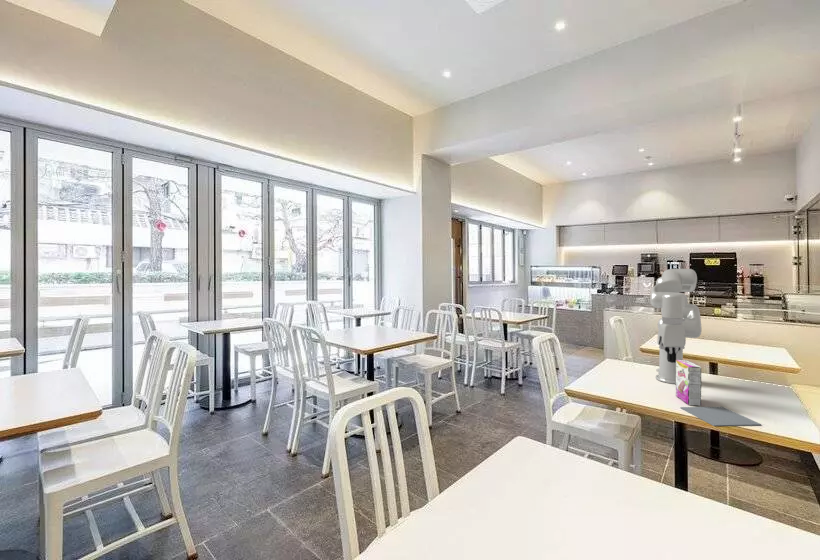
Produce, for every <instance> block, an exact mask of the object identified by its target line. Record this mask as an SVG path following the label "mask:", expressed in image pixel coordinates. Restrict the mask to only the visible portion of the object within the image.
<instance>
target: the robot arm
mask: <svg viewBox="0 0 820 560" xmlns="http://www.w3.org/2000/svg"><path fill="white" fill-rule="evenodd" d="M697 282H698V276H697V273H696V271H695V270H694V269H692V268H669V269H666V270H664V271H663V272H662V273H661V276H660V277H658V278H657V279H656V282H655V285H654V286H653V287H652V288H651V290H650V297H649V302H650V305H651V307H652V308H656V309H661V312H660V313H661V318H659V319H658V321H657V330H658V332H657V345H659V347H658V348H659V358H658V361H659V365H658V366H659V367H658V368H657V369H656V372H658V374H656V375H655V379H656V381H659V382H663V383H665V384H675V385H676V360H684V358H683V354H684V350H685V347H686V340H687V339H688V338H689V339H697V338H699V337H700V336H701V335H702V320H701V312H700V309H699V306H698V305H696V304H693V303H688V296H686V294H685V293H692V292H694V291H695V289H696V286H697ZM686 338H687V339H686Z"/></svg>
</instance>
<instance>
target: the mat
mask: <svg viewBox="0 0 820 560" xmlns="http://www.w3.org/2000/svg"><path fill="white" fill-rule="evenodd" d="M680 409H681V410H683V411H685V412H687V413H688V414H691V416H694V417H696V418H697V419H700V420H701V421H704V422H705V423H707V424H709V425H711V426H713V427H742V426H743V427H745V426H751V427H753V426H754V427H755V426H762V423H760V422H757V421H755V420H753V419H751V418H750V417H746V416H744V415H742V414H740V413H737V412H735V411H733V410H732V409H729V408H727V407H724V406H683V407H682V406H681V407H680Z"/></svg>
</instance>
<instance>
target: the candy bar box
mask: <svg viewBox="0 0 820 560" xmlns="http://www.w3.org/2000/svg"><path fill="white" fill-rule="evenodd" d="M675 396H676V397H677V398H678V399H679V400H681V401H682V402H683V403H685V404H686V405H688V406H689V407H702V366H700V365H698V364H696V363H695V362H692V361H690V360H687V359H683V360H676V384H675Z"/></svg>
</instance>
